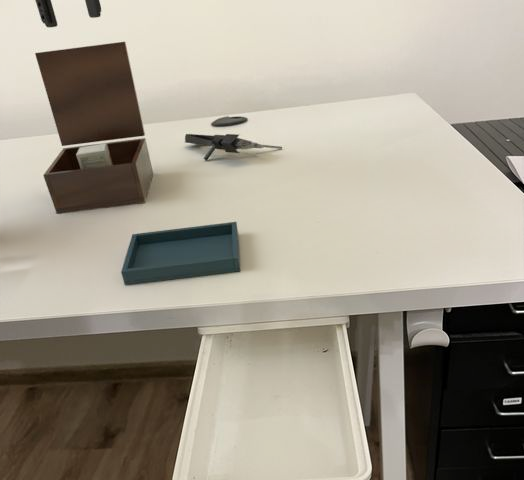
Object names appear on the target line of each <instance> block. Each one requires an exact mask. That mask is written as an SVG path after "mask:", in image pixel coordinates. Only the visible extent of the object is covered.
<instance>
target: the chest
mask: <svg viewBox="0 0 524 480" xmlns="http://www.w3.org/2000/svg"><path fill="white" fill-rule="evenodd" d="M104 143H105V142H103V143H102V142H101V143H100V144H104ZM106 143H107V146H108V149H109V153H110V156H111V160H112V164H113V165H110V166H101V167H93V168H85V169H81V168H80V165H79V162H78V159H77V156H76V154H77V152H78V150H79V148H80V147H86V146H92V145H98V144H99V143H94V144H85V145H78V146H71V147H69V146H68V147H64V148H62V149H61V151H60V152H59V153H58V155H57V156H56V157H55V158H54V160H53V161H52V162H51V164H50V165H49V167H48V168H47V169H46V171H44V173H43V179H44V181H45V184H46V187H47V190H48V193H49V195H50V198H51V201H52V205H53V208H54V209H55V213H56V214H61V213H71V211H72V212H78V211H79V212H80V211H87V210H96V209H104V208H105V209H106V208H112V207H120V206H128V205H136V204H137V205H138V204H144V203H146V200H147V197H148V193H149V190H150V188H151V187H150V186H151V184H152V180H153V178H154V177H153V176H154V170H153V165H152V161H151V157H150V152H149V148H148V144H147V139H146V138H145V137H141V138H134V139H126V140H118V141H117V140H116V141H109V142H106Z"/></svg>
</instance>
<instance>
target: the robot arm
mask: <svg viewBox="0 0 524 480" xmlns="http://www.w3.org/2000/svg"><path fill="white" fill-rule="evenodd" d="M34 1H35V4H36V6H37V10H38V13H39V14H38V15H39V17H40V20H41V22H42V24H44V26H45V27H46V28H57V27H58V21H57V18H56V14H55V10H54V7H53V2H52V0H34ZM84 1H85V6H86V10H87V14H88V16H89V18H91V19H93V18H94V19H95V18H100V17H101V15H102V14H101V13H102V5H101V2H100V0H84Z"/></svg>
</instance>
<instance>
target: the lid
mask: <svg viewBox="0 0 524 480" xmlns="http://www.w3.org/2000/svg"><path fill="white" fill-rule="evenodd" d="M34 54H35V58H36V62H37V66H38V69H39V71H40V75H41V79H42V82H43V85H44V89H45V93H46V96H47V100H48V104H49V106H50V109H51V113H52V116H53V120H54V123H55V127H56V130H57V133H58V137H59V141H60V144H61V146H62V147H65V146H73V145H83V144H90V143H99V142H108V141H113V140H121V139H122V140H123V139H130V138H139V137H145V136H146V132H145V129H144V123H143V119H142V114H141V109H140V104H139V100H138V95H137V90H136V86H135V82H134V81H135V80H134V75H133V71H132V68H131V62H130V58H129V52H128V47H127V43H126V41H119V42H110V43H105V44H104V43H102V44H96V45H95V44H93V45H88V46H79V47H72V48H71V47H70V48H63V49H57V50H47V51H40V52H35V53H34Z"/></svg>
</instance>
